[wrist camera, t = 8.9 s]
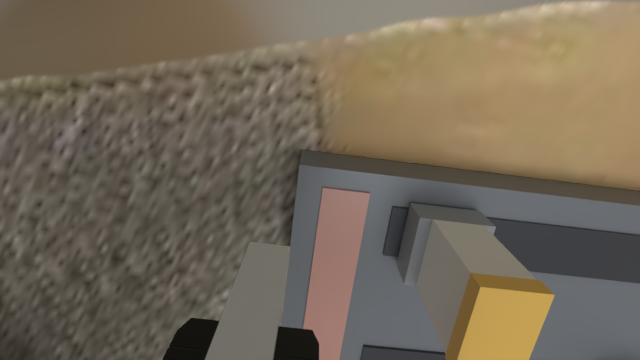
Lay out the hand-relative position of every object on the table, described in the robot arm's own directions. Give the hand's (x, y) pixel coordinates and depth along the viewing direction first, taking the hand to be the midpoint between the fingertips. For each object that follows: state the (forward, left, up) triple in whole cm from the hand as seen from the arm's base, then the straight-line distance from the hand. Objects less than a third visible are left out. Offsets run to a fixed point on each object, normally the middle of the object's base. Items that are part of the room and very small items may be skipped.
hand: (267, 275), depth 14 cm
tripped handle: (+8, 0, -5) cm, 10 cm away
